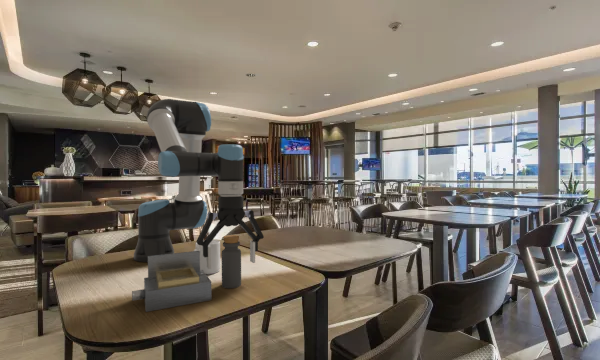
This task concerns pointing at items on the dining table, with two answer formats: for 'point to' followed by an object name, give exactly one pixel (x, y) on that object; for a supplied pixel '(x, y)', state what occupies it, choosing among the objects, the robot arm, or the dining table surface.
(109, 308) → the dining table surface
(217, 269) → the mug
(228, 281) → the bottle
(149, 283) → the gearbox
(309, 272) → the dining table surface
